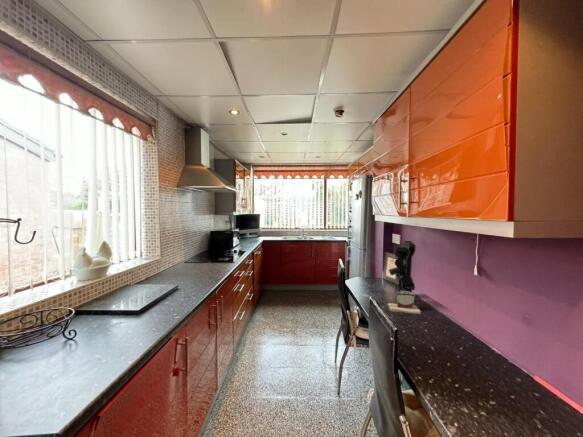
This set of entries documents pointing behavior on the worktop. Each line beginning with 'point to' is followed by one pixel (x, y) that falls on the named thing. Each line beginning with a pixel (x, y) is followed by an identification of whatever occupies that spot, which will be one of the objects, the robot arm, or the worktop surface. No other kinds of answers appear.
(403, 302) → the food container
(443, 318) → the worktop surface
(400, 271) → the robot arm
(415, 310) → the base board
